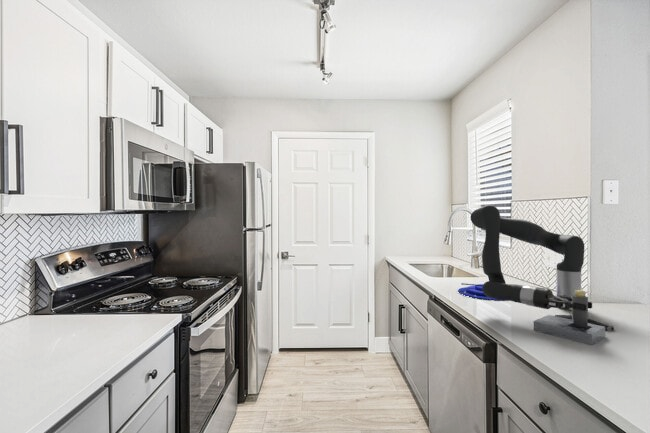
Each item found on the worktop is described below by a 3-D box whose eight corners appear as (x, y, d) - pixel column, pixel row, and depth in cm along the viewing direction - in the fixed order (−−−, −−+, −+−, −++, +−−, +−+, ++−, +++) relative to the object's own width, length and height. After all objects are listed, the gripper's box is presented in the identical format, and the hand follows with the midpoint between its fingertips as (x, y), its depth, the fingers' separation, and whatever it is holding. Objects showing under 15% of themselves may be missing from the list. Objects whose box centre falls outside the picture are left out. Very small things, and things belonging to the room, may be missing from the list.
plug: (574, 321, 127) (575, 288, 127) (589, 325, 123) (590, 291, 123) (569, 324, 124) (570, 290, 124) (584, 327, 121) (585, 292, 120)
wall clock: (533, 288, 179) (485, 292, 170) (533, 299, 179) (485, 303, 170) (489, 278, 207) (446, 281, 198) (489, 287, 207) (446, 290, 198)
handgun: (586, 327, 128) (616, 325, 130) (552, 314, 145) (579, 312, 146) (586, 334, 128) (616, 331, 130) (553, 320, 145) (579, 318, 146)
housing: (548, 323, 138) (548, 314, 138) (605, 336, 123) (605, 326, 123) (533, 330, 130) (533, 320, 130) (592, 345, 116) (592, 334, 116)
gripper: (527, 289, 131) (581, 298, 117) (544, 284, 139) (596, 293, 126) (527, 309, 131) (581, 321, 117) (544, 303, 140) (596, 313, 126)
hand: (589, 306), depth 122 cm, fingers closed on plug, 4 cm apart
